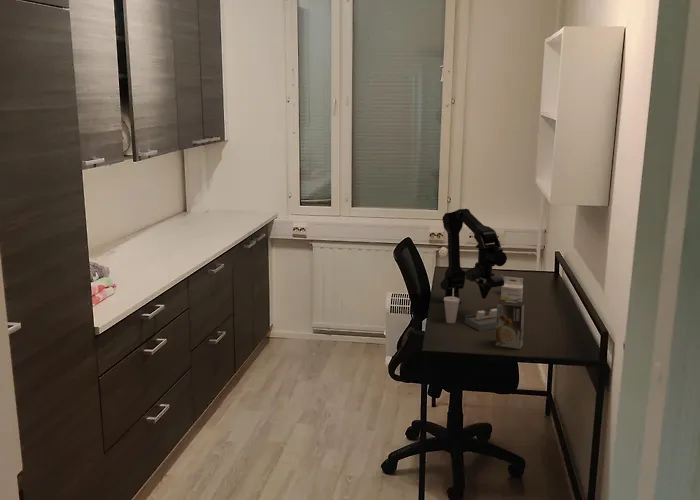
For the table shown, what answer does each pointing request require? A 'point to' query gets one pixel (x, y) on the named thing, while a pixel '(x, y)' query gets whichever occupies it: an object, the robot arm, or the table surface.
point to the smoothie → (451, 308)
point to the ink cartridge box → (512, 289)
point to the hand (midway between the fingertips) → (483, 298)
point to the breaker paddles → (481, 314)
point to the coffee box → (510, 323)
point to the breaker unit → (481, 322)
